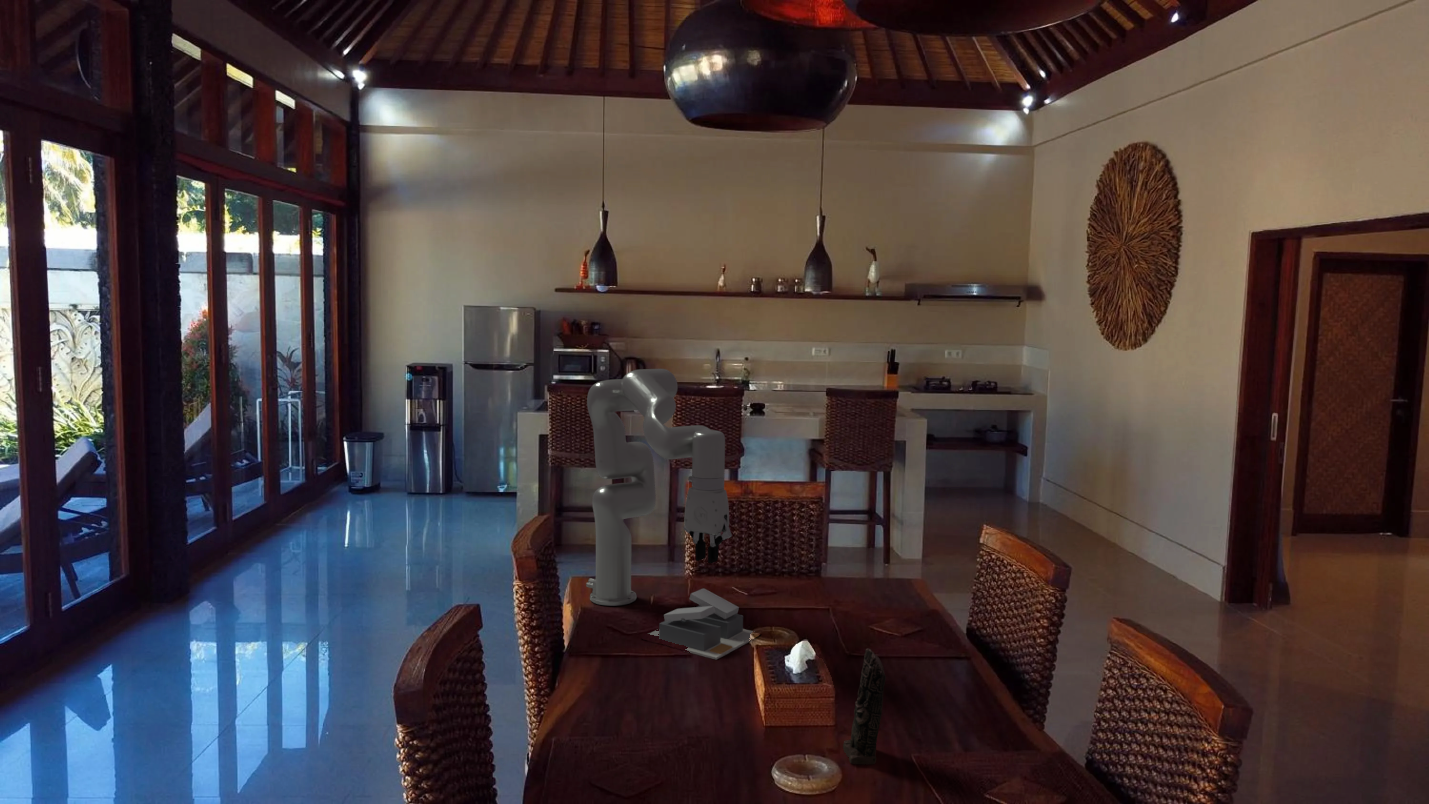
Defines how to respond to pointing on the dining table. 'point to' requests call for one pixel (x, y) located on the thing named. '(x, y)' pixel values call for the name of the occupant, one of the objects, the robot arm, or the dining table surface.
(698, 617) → the switch
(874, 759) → the statue
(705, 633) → the switch board
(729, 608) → the switch
